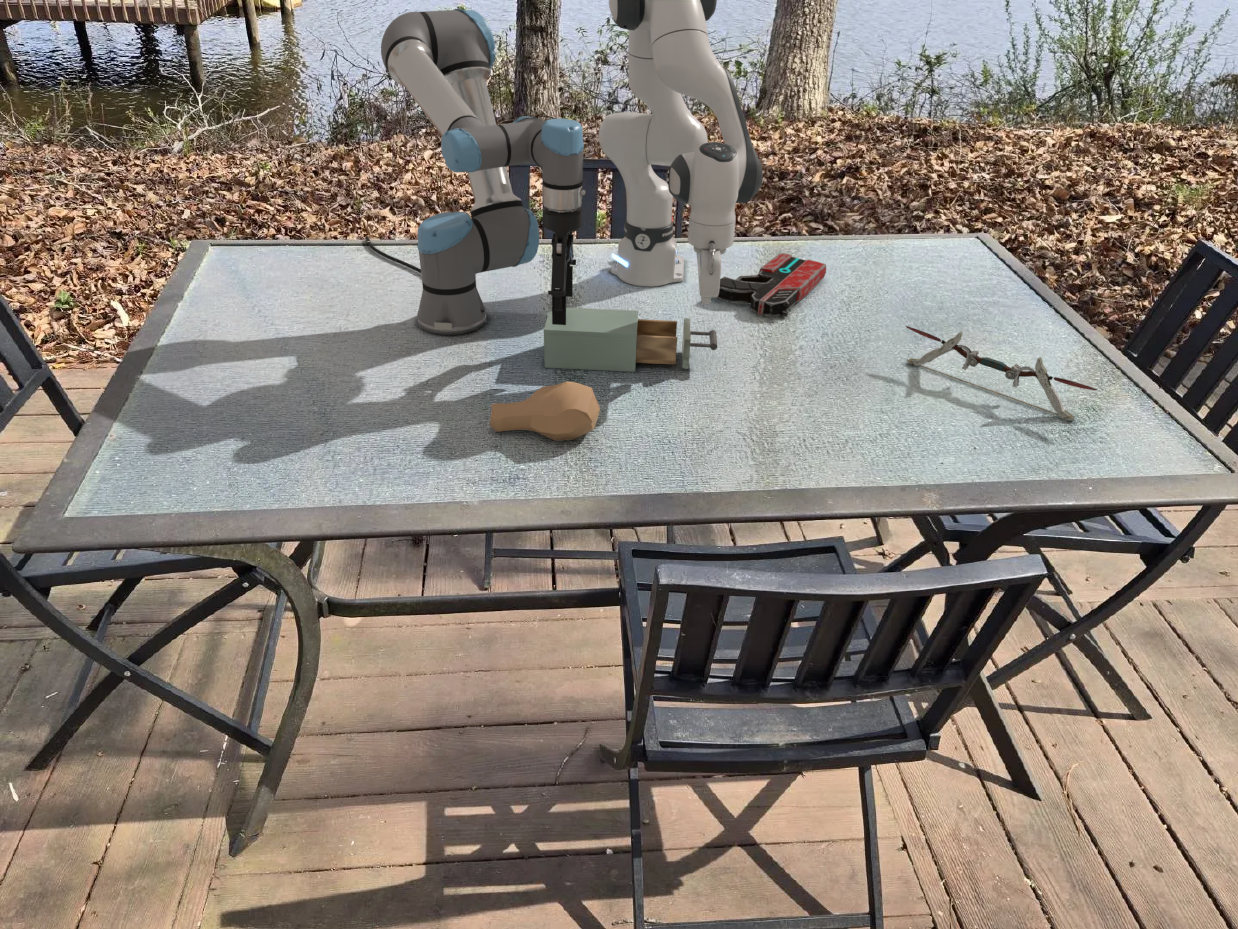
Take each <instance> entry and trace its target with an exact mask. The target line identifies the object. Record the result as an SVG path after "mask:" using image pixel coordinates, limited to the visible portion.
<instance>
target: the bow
mask: <svg viewBox="0 0 1238 929" xmlns="http://www.w3.org/2000/svg"><path fill="white" fill-rule="evenodd" d="M905 328H907V329H909V330H910V331H912V332H914V333H916V334H918V335H920V336H923V337H925V338H927V339H930V340H932V341H936V342H939V343H941V344H942V346H940V347H936V348H934V349H932V350H930V351H928V352H926V353H925V354H924V355H923V356H921V357H920V358H913V357H909V358H908V359H907V363H908V364H910V365H912V366H916V367H918V366H920V367H922V368H925V369H927V370H930V371H933V372H935V373H938V374H941V375H945V376H947V377H950V378H952V379H955V380H958V381H960V382H964V383H967V384H970V385H973V386H975V387H978V388H981V389H983V390H986V391H988V392H992V393H995V394H997V395H1001V396H1003V397H1006V398H1008V399H1011V400H1014V401H1016V402H1020V403H1022V404H1026V405H1028V406H1031V407H1033V408H1037V409H1040V410H1042V411H1045V412H1048V413H1050V414H1053V415H1056V416H1059V417H1060V418H1062V419H1063V420H1067V421H1074V419H1076V416H1074V415H1073V414H1072V413H1070V412H1069V411H1067V410H1066V409H1065V408H1064V405H1063V402H1062V398H1061V397H1060V395H1059V394H1058V391H1057V390H1056V389H1055V387H1054V386H1053V385H1052V383H1051V381H1052V380H1054V381H1055V382H1058V383H1062V384H1064V385H1067V386H1070V387H1073V388H1074V387H1075V388H1079V389H1083V390H1091V391H1098V390H1099V389H1098V388H1095V387H1093V386H1089V385H1087V384H1083V383H1080V382H1077V381H1073V380H1069V379H1065V378H1062V377H1056V376H1052V375H1049V373H1048V370H1047V368H1046V366H1045V365H1044V362H1043V358H1042V357H1041V356H1039V357H1038V358H1037V359H1036V362H1035V366H1034V368H1032V367H1030V366H1021V365H1019V364H1018V363H1015V364H1013V366H1011V367H1010V366H1009V365H1008V364H1006V363H1005V362H1002V361H999V360H996V359H994V358H991V357H987V356H986V357H985V356H984V357H980V356H979V354H980V352H979V350H971V348H969V347H968V346H967V345H964V344H959V343H960V342H961V340H962V337H963V331H959V332H958V333H957V334H956V335H955V336H953V337H951V338H949V339H948V340H947V341H946V340H944V339H941V338H940V337H938V336H935V335H933V334H930V333H928V332H926V331H923V330H920V329H918V328H914V327H911V326H908V325H905ZM951 351H956V352H957V353H958V354H959V355H960V356H962V357H963V358H965V362H964V363H963V365H962V367H961V370H964V371H966V370H967V369H969V366H970V367H973V368H975V367H976V366H978V365H979V364H980V365H982V366H984V367H988V368H991V369H994V370H997V371H999V372H1002V373H1005V374H1004V376H1005V378H1006V379H1008V380H1013V381H1012V387H1013V388H1018V387H1019V386H1020V378H1028V377H1035V379H1036V380H1037V381H1038V383H1039V384H1040V386H1041V388H1042V390H1043V391H1044V393H1045V396H1046V398H1047V399H1048V401H1049V403H1050V406H1051V407H1052V409H1053V410H1054V411H1055V412H1053V411H1050V410H1048V409H1045V408H1042V407H1040V406H1036V405H1034V404H1031V403H1028V402H1025V401H1024V400H1023V401H1022V400H1019V399H1017V398H1014V397H1011V396H1008V395H1006V394H1003V393H1000V392H997V391H994V390H991V389H989V388H986V387H983V386H981V385H978V384H975V383H972V382H969V381H966V380H964V379H961V378H957V377H955V376H952V375H949V374H947V373H945V372H941V371H938V370H936V369H932V368H929V367H926V366H924V365H925V364H927V363H931V362H933V361H934V360H935V359H938V358H939V357H940V356H943V355H944V354H946V353H949V352H951Z"/></svg>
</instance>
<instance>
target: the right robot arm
mask: <svg viewBox="0 0 1238 929" xmlns="http://www.w3.org/2000/svg"><path fill="white" fill-rule="evenodd" d="M717 2H718V0H608V7H609V12H610V14H611V16H612V19H613V22H614V23H615V24H616V26H617V27H619V28H620V29H623V30H627V31H628V40H627V41H628V44H627V46H628V47H627V48H628V51H627V52H628V53H627V56H628V58H627V60H628V63H627V64H628V66H627V67H628V69H627V70H628V71H627V72H628V74H627V75H628V87H629V89H630V91H631V93H632V94H633V95H634V97H635V98H637V99H638V100H640V101H641V102H642V103H644V104H645V105H646V106H647V107H648V108H649V110H650V111H651V113H645V112H644V113H643V112H633V111H623V112H616V113H614V112H613V113H610V114H608V115H607V116H606V117H605V118H604V119H603V121H602V122H601V124H600V126H599V130H598V143H599V146H600V150H601V151H602V152H603V154H604V155H605V156H606V157H607V158H608V159H609V160H610V161H611V162H612V163H613V164H614V166H615V167H616V168H617V170H618V172H619V174H620V175H621V179H622V181H623V184H624V187H625V195H626V196H625V197H626V218H625V220H624V225H623V230H624V231H623V232H624V237H623V238H621V239H620V240H619V241H618V245H617V254H615V253H611V258H612V259H613V260H615V261H616V264H614V265H613V266H612V267H610V273H611V274H613V275H614V276H617V277H618V278H619V279H620V280H621V281H623V282H624V283H627V284H630V285H634V286H639V287H660V286H665V285H668V284H673V283H681V282H683V281H684V273H685V272H684V271H685V268H684V267H685V258H684V257H683V256H681V255H677V247H678V246H677V245H678V243H677V240H676V239H675V237H674V229H675V228H674V227H675V226H674V216H673V206H674V205H673V204H674V203H673V202H674V199H675V200H676V201H677V202H679V203H680V204H683V205H689V206H690V212H689V217H688V227H687V228H688V229H687V230H688V232H687V243H688V244H689V245H691V246H692V247H693V251H694V252H695V253H696V261H697V275H698V290H699V291H698V292H699V296H700V302H701V304H704V305H705V304H706V305H709V304H710V303H711V298H714V297H718V295H719V288H720V279H721V277H722V276H721V274H722V256H723V255H724V254H726V252H727V249H728V248H730V247H732V246H733V244H734V239H735V230H736V220H737V216H736V211H735V210H736V209H735V208H736V204H747V203H749V201H751V200H752V199H753V198H754V197H755V196H756V195H757V194H758V192H759V191H760V189H761V187H762V185H763V180H764V173H763V172H764V171H763V166H762V163H761V160H760V159H759V156H758V154H757V152H756V150H755V147H754V145H753V142H752V138H751V135H750V133H749V128H748V126H747V122H746V118H745V115H744V112H743V108H742V105H741V101H740V98H739V94H738V91H737V88H736V85H735V83H734V80H733V77H732V75H731V72H730V71H729V70H728V69H727V68H726V67H724V66H723V65H722V64H721V63H720V61H718V59H717V56H715V54H714V52H713V49H712V46H711V44H710V40H709V33H708V26H707V22H708V21H709V20H710V19H711V18H712V17H713V16H714V14H715V11H716V8H717ZM683 96H687V97H690V98H692V99H695V100H697V101H699V102H701V103H703V104H704V105H706V106H708V107H709V108H710V109H711V110H712V112H713V113H714V114H715V116H716V119H717V122H718V126H719V129H720V132H721V137H722V140H723V142H724V143H723V142H721V141H719V142H718V141H710V142H709V140H708V133H707V131H706V128H705V127H704V125H703V123H702V122H701V121H699V120H698V119H697V118H696V117H695V116H694V115H693V114H692V112H691V111H690V110H689V108H688V106H687V105H686V103H685V101H684V98H683ZM652 165H655V166H663V167H669V169H668V176H667V177H668V180H667V181H666V180H664V179H663V178H660V177H659V176H658V175H657V174H656V172H655V171H654V169H653V168H652ZM667 182H668V183H667Z"/></svg>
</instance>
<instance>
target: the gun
mask: <svg viewBox="0 0 1238 929" xmlns="http://www.w3.org/2000/svg"><path fill="white" fill-rule="evenodd" d="M826 273H827V264H826V263H823V262H820V261H816V260H812V259H802V258H799V257H795V256H793V255H792V254H791V253H784V252H780V253H778V254H777V255H775V256H774V257H773V258H771V259H770V260H768V261H767V262H766V263H765V264H763V265H762V266H761V267H760V269H759V271H758V273H757V274H756V275H753V274H752V275H751V274H750V275H740V276H738V277H737V278H735V279H734V278H731V277H727V276H722V277H720V288H719V295H718V297H713V298H714V299H716V300H719V301H723V302H727V303H730V304H750V305H749V308H750V310H751V312H753V313H755V314H757V315H758V316H760V317H761V316H765V317H770V318H771V317H777V316H780V317H784V318H787V317H788V315H789V311H788V310H790V309H791V308H792V307H793V306H794V305H795V304H798V303H799V302H801V301H802V300H803V299H804V298H805V297H807V296H808V295H809V294H810V293H811V292H812V291H813V290H814V289H815V287H817V285H818V284H820V283H821V282H822V280H823V279H824V278H825V276H826Z"/></svg>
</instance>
